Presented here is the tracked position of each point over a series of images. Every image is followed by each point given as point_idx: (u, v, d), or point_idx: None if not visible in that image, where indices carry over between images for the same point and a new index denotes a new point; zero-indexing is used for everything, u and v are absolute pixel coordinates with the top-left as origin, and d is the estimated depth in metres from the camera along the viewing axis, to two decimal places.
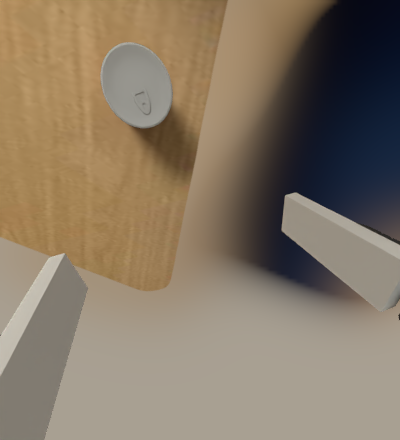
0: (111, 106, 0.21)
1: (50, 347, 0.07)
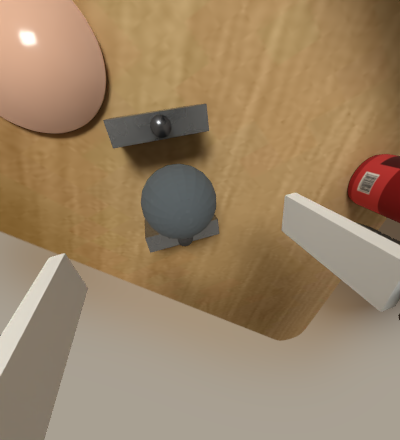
0: None
1: (50, 348, 0.07)
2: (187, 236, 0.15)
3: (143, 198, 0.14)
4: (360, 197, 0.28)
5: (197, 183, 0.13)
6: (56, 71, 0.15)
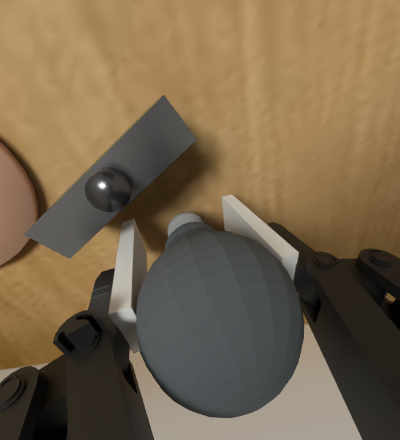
0: None
1: (142, 282, 0.09)
2: None
3: (139, 335, 0.06)
4: None
5: (274, 305, 0.05)
6: None
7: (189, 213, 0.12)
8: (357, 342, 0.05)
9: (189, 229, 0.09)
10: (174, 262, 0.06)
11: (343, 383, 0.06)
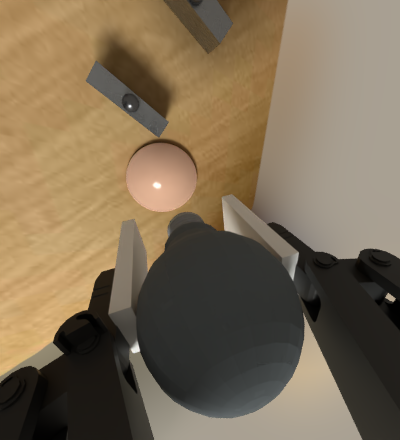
0: None
1: (142, 281, 0.09)
2: None
3: (139, 334, 0.06)
4: None
5: (274, 305, 0.05)
6: (158, 169, 0.27)
7: (189, 213, 0.12)
8: (357, 342, 0.05)
9: (189, 229, 0.09)
10: (174, 262, 0.06)
11: (343, 383, 0.06)
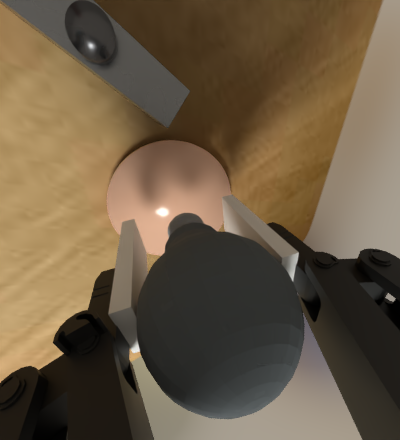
0: None
1: (142, 281, 0.09)
2: None
3: (140, 335, 0.06)
4: None
5: (274, 306, 0.05)
6: (165, 189, 0.15)
7: (189, 214, 0.12)
8: (357, 342, 0.05)
9: (189, 230, 0.09)
10: (175, 263, 0.06)
11: (343, 383, 0.06)
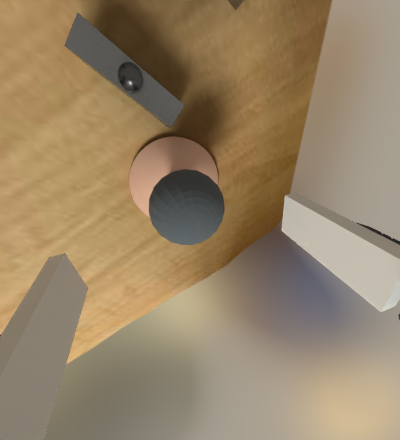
0: None
1: (50, 347, 0.07)
2: (197, 241, 0.14)
3: (150, 206, 0.14)
4: None
5: (203, 187, 0.13)
6: (169, 171, 0.21)
7: None
8: None
9: None
10: (165, 176, 0.14)
11: None
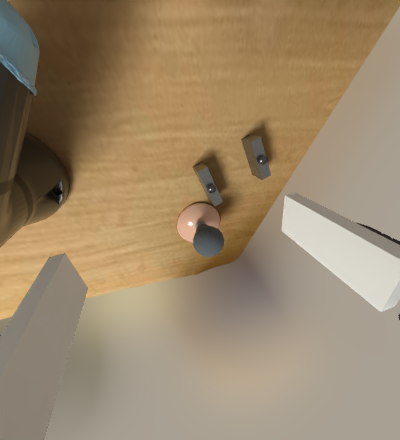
0: None
1: (50, 347, 0.07)
2: (208, 256, 0.36)
3: (198, 236, 0.36)
4: None
5: (220, 238, 0.36)
6: (199, 217, 0.43)
7: None
8: None
9: (206, 225, 0.40)
10: (208, 228, 0.36)
11: None
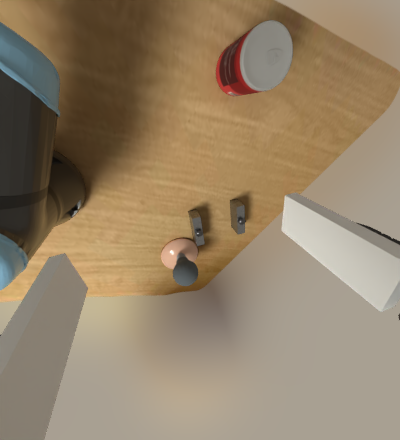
0: (274, 86, 0.28)
1: (50, 347, 0.07)
2: (183, 285, 0.44)
3: (179, 268, 0.44)
4: None
5: (196, 273, 0.44)
6: (182, 250, 0.51)
7: (184, 254, 0.51)
8: None
9: (186, 258, 0.48)
10: (188, 262, 0.45)
11: None
